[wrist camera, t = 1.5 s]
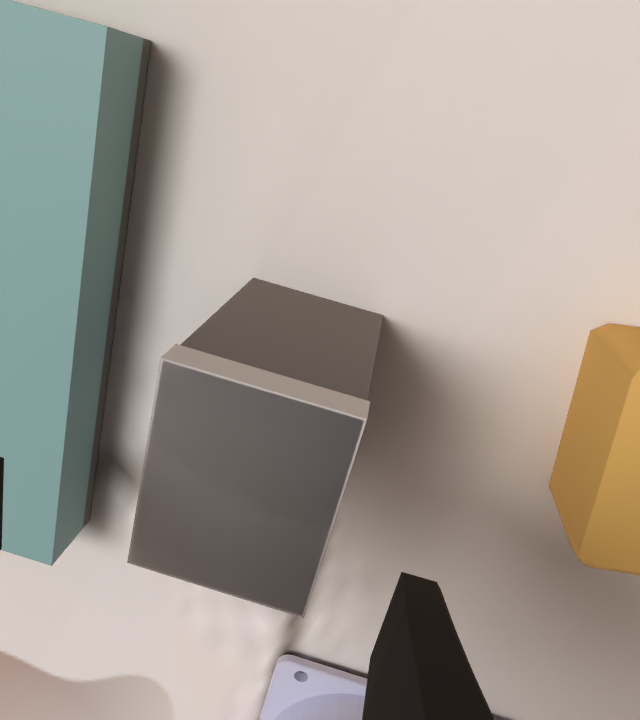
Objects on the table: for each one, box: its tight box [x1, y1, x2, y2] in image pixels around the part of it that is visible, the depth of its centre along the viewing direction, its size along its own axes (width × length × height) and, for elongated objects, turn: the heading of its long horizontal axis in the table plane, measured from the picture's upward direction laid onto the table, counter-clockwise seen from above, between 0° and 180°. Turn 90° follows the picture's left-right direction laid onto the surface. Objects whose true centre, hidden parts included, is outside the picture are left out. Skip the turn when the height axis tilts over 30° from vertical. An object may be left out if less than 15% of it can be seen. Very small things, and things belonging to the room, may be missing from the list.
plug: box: [127, 278, 383, 618], centre depth 16 cm, size 4×5×7 cm
